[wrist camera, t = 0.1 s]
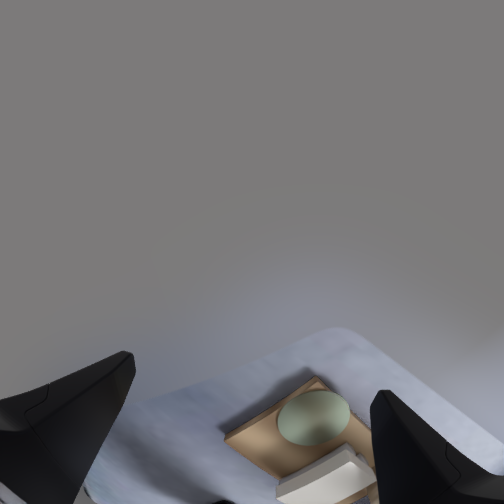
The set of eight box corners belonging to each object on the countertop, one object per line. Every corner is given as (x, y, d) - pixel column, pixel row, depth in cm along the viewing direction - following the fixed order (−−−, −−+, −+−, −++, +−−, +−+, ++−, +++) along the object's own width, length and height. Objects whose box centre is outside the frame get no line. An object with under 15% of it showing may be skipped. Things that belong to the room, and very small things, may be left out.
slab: (306, 493, 24) (308, 515, 20) (276, 474, 24) (276, 498, 20) (368, 458, 23) (376, 480, 19) (342, 437, 23) (350, 461, 19)
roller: (372, 487, 23) (392, 544, 12) (355, 477, 23) (375, 540, 12) (403, 468, 23) (431, 523, 12) (388, 456, 23) (418, 517, 12)
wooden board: (334, 505, 25) (335, 512, 23) (224, 434, 25) (222, 442, 24) (410, 460, 24) (414, 466, 22) (320, 371, 24) (323, 378, 23)
